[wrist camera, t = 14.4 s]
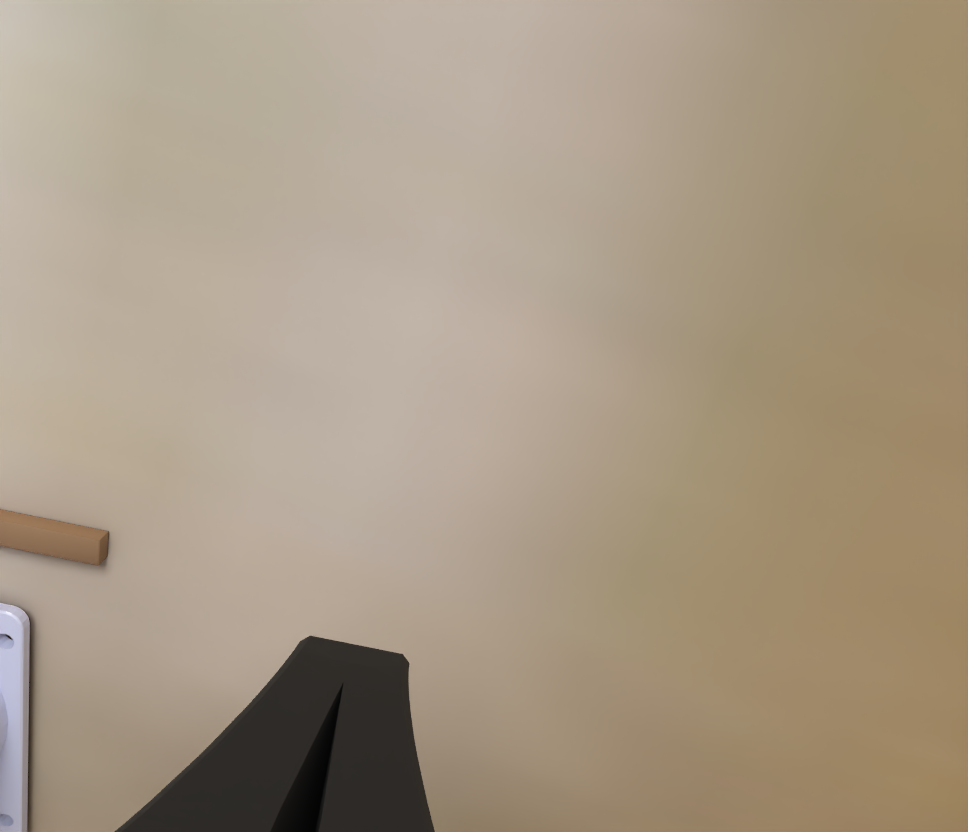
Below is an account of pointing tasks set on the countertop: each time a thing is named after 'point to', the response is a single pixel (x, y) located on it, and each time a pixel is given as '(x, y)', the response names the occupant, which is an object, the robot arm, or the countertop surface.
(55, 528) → the track
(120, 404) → the countertop surface
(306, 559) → the countertop surface
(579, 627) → the countertop surface
